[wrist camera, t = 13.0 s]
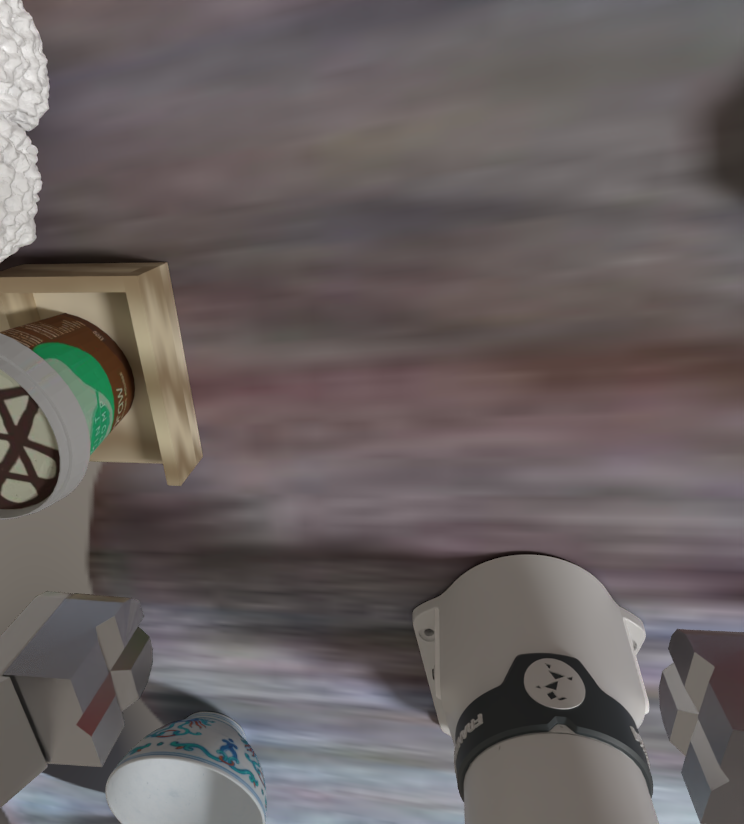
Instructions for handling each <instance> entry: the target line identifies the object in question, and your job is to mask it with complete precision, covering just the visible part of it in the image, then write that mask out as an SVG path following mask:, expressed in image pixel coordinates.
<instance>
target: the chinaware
mask: <svg viewBox="0 0 744 824" xmlns="http://www.w3.org/2000/svg"><path fill="white" fill-rule="evenodd" d="M106 799H107V802H108V805H109V807H110V809H111V811H112V812H113V814H114V815H115V817H116V818H117V819H118V820H119V821H120V822H121V823H122V824H265V821H266V787H265V780H264V775H263V772H262V768H261V766H260V763H259V761H258V758H257V756H256V754H255V753H254V751H253V749H252V748H251V746H250V745H249V744H248V742H247V741H246V737H245V733H244V731H243V730H242V728H241V727H240V726H239V725H238V724H237V723H236V722H235V721H234V720H232V719H231V718H229V717H227V716H225V715H222V714H219V713H215V712H198V713H194V714H192V715H190V716H188V717H187V718H186V719H185V720H180V721H176V722H173V723H170V724H167V725H165V726H163V727H161V728H159V729H157V730H155V731H153V732H152V733H150V734H149V735H147V736H146V737H145V738H143V739H142V740H141V741H140V742H138V743H137V744H136V745H135V746H134V747H133V748H132V749H131V750H130V751H129V752H128V753H127V754H126V755H125V757H124V758H123V759H122V760H121V761H120V763H119V764H118V765H117V766H116V768H115V769H114V770H113V772H112V773H111V775H110V776H109V778H108V781H107V784H106Z"/></svg>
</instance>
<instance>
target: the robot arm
mask: <svg viewBox="0 0 744 824" xmlns="http://www.w3.org/2000/svg"><path fill="white" fill-rule="evenodd" d="M143 617H144V615H143V611H142V608H141V605H140V602H139V600H136V599H133V598H125V597H114V596H102V595H90V594H78V593H75V594H71V593H70V594H69V593H59V592H48V591H46V592H44V593H42V594H40V595H38V596H36V597H35V598H34V599H33V600H32V601H31V602H30V603H29V605H28V606H27V607H26V608H25V609H24V610H23V611H22V612H21V613H20V615H19V616H18V617H17V618H16V619H15V620H14V621H13V623H12V624H11V625H10V626H9V627H8V628H7V629H6V630H5V631H4V633H3V634H2V635H1V636H0V808H1V807H2V806H3V805H4V804H5V803H7V802H8V801H9V800H10V799H11V798H12V797H13V796H15V795H16V794H17V793H18V792H19V791H20V790H22V789H23V788H24V787H25V786H26V785H27V784H28V783H30V782H31V781H32V780H33V779H34V778H35V777H37V776H38V775H39V774H40V773H41V772H42V771H44V770H45V769H46V768H47V763H48V764H64V765H65V764H66V765H80V766H81V765H82V766H96V767H102V766H103V764H104V762H105V761H106V759H107V757H108V755H109V753H110V751H111V750H112V748H113V746H114V744H115V742H116V740H117V739H118V737H119V735H120V733H121V731H122V730H123V728H124V726H125V723H124V717H123V711H124V710H125V709H126V708H128V707H129V706H130V705H132V704H133V703H134V702H135V701H137V700H138V699H139V698H140V696H141V694H142V692H143V690H144V689H145V687H146V685H147V683H148V679H149V675H150V671H151V667H152V663H153V649H152V645H151V641H150V637H149V636H148V635H147V634H146V633H145V632H144V631H143V630H141V629H140V628H139V627H138V625H139V624H140V622H141V621H142V619H143ZM412 619H413V627H414V631H415V635H416V638H417V642H418V646H419V650H420V653H421V657H422V661H423V665H424V668H425V672H426V676H427V680H428V683H429V687H430V691H431V695H432V698H433V702H434V706H435V710H436V713H437V717H438V721H439V724H440V727H441V730H442V731H443V732H444V733H446V734H448V735H450V736H451V737H452V740H453V743H454V746H455V751H454V764H455V773H456V778H457V783H458V790H459V793H460V796H461V798H462V800H463V802H464V813H465V824H659V821H658V818H657V815H656V812H655V809H654V806H653V803H652V800H651V798H652V794H653V781H652V776H651V773H650V765H649V759H648V755H647V752H646V749H645V746H644V743H643V741H642V740H641V737H640V735H639V732H638V728H639V727H640V725H641V724H642V722H643V719H644V716H645V714H647V713H648V712H649V702H648V698H647V694H646V690H645V687H644V683H643V680H642V676H641V672H640V669H639V665H638V662H637V658H636V655H637V653H638V651H639V649H640V647H641V646H642V644H643V642H644V640H645V637H646V633H645V629H644V625H643V623H642V621H641V620H640V619H639V618H638V617H636V616H635V615H633V614H632V613H630V612H629V611H627V610H625V609H623V608H622V607H620V606H618V605H617V604H616V603H615V601H614V600H613V599H612V597H611V596H610V594H609V593H608V591H607V590H606V589H605V587H604V586H603V585H602V584H601V583H600V582H599V581H598V580H597V579H596V578H595V577H594V576H593V575H591V574H590V573H589V572H587V571H586V570H584V569H582V568H581V567H579V566H577V565H575V564H572V563H570V562H567V561H564V560H561V559H558V558H554V557H549V556H542V555H527V554H525V555H511V556H505V557H500V558H496V559H493V560H490V561H487V562H484V563H482V564H479V565H477V566H475V567H473V568H472V569H470V570H468V571H467V572H465V573H464V574H463V575H461V576H460V577H459V578H458V579H457V580H456V581H455V582H454V583H453V584H452V585H451V586H450V587H449V588H448V589H447V590H446V591H445V592H444V593H443V594H442V595H440V596H439V597H436V598H434V599H432V600H429V601H427V602H425V603H423V604H421V605H419V606H418V607H416V608H415V609H414V611H413V613H412ZM428 629H431V630H428ZM668 650H669V652H670V655H671V657H672V659H673V662H674V663H672V664H671V665H670V666H668V667H667V668H666V669H664V670H663V671H662V675H661V680H660V685H659V703H660V711H661V716H662V720H663V724H664V727H665V730H666V733H667V736H668V738H669V741H670V742H671V743H672V744H673V745H674V746H675V747H676V748H677V749H678V750H680V751H681V752H682V753H683V754H684V755H685V756H686V757H685V761H684V764H683V768H682V771H681V773H682V776H683V779H684V781H685V784H686V787H687V789H688V792H689V795H690V797H691V800H692V802H693V805H694V808H695V810H696V813H697V816H698V818H699V821H700V823H702V824H744V632H725V631H704V630H684V629H677V630H676V631H675V632H674V633H673V635H672V636H671V640H670V643H669V647H668Z"/></svg>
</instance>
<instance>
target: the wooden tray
mask: <svg viewBox="0 0 744 824" xmlns="http://www.w3.org/2000/svg"><path fill="white" fill-rule="evenodd" d="M63 313H67V314H71V315H75V316H78V317H80V318H82V319H85V320H87V321H89V322H91V323H92V324H94V325H96V326H97V327H99V328H100V329H101V330H103V331H104V332H105V333H107V334H108V335H109V336H110V337H111V338H112V339H113V340H114V341H115V342H116V344H117V345H118V346H119V347H120V349H121V350H122V351H123V353H124V355H125V356H126V358H127V360H128V362H129V364H130V367H131V369H132V373H133V376H134V382H135V395H134V400H133V403H132V406H131V409H130V410H129V412H128V413H127V414H126V415H125V416H124V418H123V419H122V420H121V421H120V422H119V424H118V425H117V426H116V427H115V428H114V429H113V430H112V431H111V433H110V434H109V435H108V436H107V437H106V438H105V439H104V441H103V442H102V443H101V444H100V445H99V446H98V447H97V449H96V450H95V451H94V452H93V453H92V454H91V455H90V459H89V461H94V462H128V463H163V466H164V470H165V475H166V480H167V484H168V485H173V486H181V485H182V484H183V482H184V481H185V480H186V478H187V477H188V476H189V475H190V473H191V472H192V471H193V469H194V468H195V467H196V465H197V464H198V463H199V461H200V460H201V459H202V457H203V454H202V449H201V443H200V438H199V432H198V427H197V421H196V416H195V410H194V405H193V400H192V394H191V389H190V383H189V378H188V372H187V367H186V361H185V356H184V350H183V345H182V339H181V334H180V328H179V323H178V317H177V312H176V307H175V301H174V296H173V290H172V285H171V279H170V274H169V268H168V263H167V262H154V263H81V264H23V265H19V266H16V267H13V268H9V269H6V270H3V271H0V332H1V331H5V330H8V329H12V328H15V327H19V326H22V325H25V324H29V323H32V322H36V321H39V320H42V319H46V318H49V317H53V316H56V315H60V314H63Z"/></svg>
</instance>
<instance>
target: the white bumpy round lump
mask: <svg viewBox="0 0 744 824" xmlns="http://www.w3.org/2000/svg"><path fill="white" fill-rule="evenodd" d="M32 19H33V18H32V16H30V14H29V13H28V12H26V11H25V9H24V8H23V2H22V1H21V0H0V263H1V262H2V261H4V259H6V258H7V257H9V256H10V255H12V254H14V253H15V252H17V251H18V249H19V247H23V246H25V245H30V244H31V243H32V242H33V241H34V240H35V239H36V234H35V232H36V225H35V222H34V216H35V215H36V213H37V211H38V209H37V207H38V206H37V204H36V202H38V201H39V200H40V199H39V196H38V195H37V193H38V192H39V191H40V190H41V188H42V183H43V182H42V181H41V175H40V172H39V171H38V167H37V166H36V165H35V164H36V163H37V161H38V157H37V156H36V155H37V153H38V149H37V147H36V146H34V145H31V140H30V138H29V137H28V136H26V132H25V131H31V130H32V129H34V128H35V127H36V126H38V125H39V118H41V117H42V116H43V114H44V113H45V112H46V111H47V110H49V105H48V100H47V99H48V98H49V92H48V91H49V89H50V86H49V78H48V77H47V74H48V71H47V68H46V64H47V62H48V61H47V59H46V56H45V55H44V54H43V51H42V49H43V47H42V41H41V38H40V35H39V32H38V30H37V29H36V27H35V25H34V22H33V20H32Z"/></svg>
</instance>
